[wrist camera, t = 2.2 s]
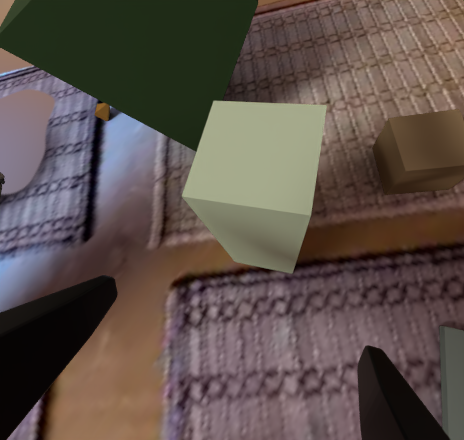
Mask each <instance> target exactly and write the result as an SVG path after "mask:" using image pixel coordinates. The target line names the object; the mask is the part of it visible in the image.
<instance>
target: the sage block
mask: <svg viewBox="0 0 464 440" xmlns="http://www.w3.org/2000/svg"><path fill="white" fill-rule="evenodd" d="M326 108H327V105H307V104H283V103H258V102H234V101H213V104H212V107H211V110H210V113H209V116H208V119H207V122H206V125H205V128H204V131H203V134H202V137H201V140H200V143H199V146H198V149H197V152H196V155H195V158H194V161H193V164H192V167H191V170H190V173H189V176H188V179H187V182H186V185H185V188H184V191H183V194H182V197H183V199H184V200H185V201H186V202H187V204H188V205H189V206H190V207H191V208H192V210H193V211H194V212H195V213H196V215H197V216H198V217H199V218H200V219H201V221H202V222H203V223H204V224H205V226H206V227H207V228H208V229H209V230H210V232H211V233H212V234H213V235H214V237H215V238H216V239H217V240H218V241H219V243H220V244H221V245H222V246H223V248H224V249H225V250H226V251H227V252H228V254H229V255H230V256H231V257H232V259H233V260H234V261H235V262H238V263H243V264H248V265H253V266H257V267H262V268H267V269H272V270H277V271H281V272H286V273H291V274H293V271H294V267H295V264H296V261H297V258H298V255H299V252H300V248H301V245H302V242H303V239H304V236H305V233H306V230H307V226H308V223H309V220H310V217H311V212H312V205H313V198H314V191H315V184H316V177H317V170H318V163H319V156H320V149H321V142H322V135H323V128H324V121H325V114H326Z"/></svg>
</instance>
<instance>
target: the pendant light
mask: <svg viewBox="0 0 464 440" xmlns="http://www.w3.org/2000/svg"><path fill="white" fill-rule="evenodd" d="M257 5H258V0H15V1H14V3H13V5H12V6H11V8H10V10H9V12H8V14H7V16H6V17H5V19H4V21H3V23H2V25H1V26H0V48H2V49H4V50H6V51H8V52H10V53H12V54H14V55H15V56H17V57H19V58H21V59H23V60H25V61H27V62H29V63H31V64H32V65H34V66H36V67H38V68H40V69H42V70H44V71H45V72H47V73H49V74H51V75H53V76H55V77H57V78H59V79H61V80H62V81H64V82H66V83H68V84H70V85H72V86H74V87H76V88H77V89H79V90H81V91H83V92H85V93H87V94H89V95H91V96H93V97H94V98H96V99H98V100H100V101H102V102H104V103H102V104H97V107H96V111H95V116H97V117H99V118H101V119H103V120H105V121H108V119H109V115H110V106H111V107H113V108H115V109H117V110H119V111H121V112H123V113H125V114H126V115H128V116H130V117H132V118H134V119H136V120H138V121H140V122H141V123H143V124H145V125H147V126H149V127H151V128H153V129H155V130H157V131H158V132H160V133H162V134H164V135H166V136H168V137H170V138H172V139H173V140H175V141H177V142H179V143H181V144H183V145H185V146H187V147H189V148H190V149H192V150H194V151H196V152H197V149H198V146H199V143H200V140H201V137H202V134H203V131H204V128H205V125H206V122H207V119H208V116H209V113H210V110H211V107H212V104H213V101H222V100H223V98H224V95H225V92H226V89H227V87H228V84H229V81H230V79H231V76H232V73H233V70H234V68H235V65H236V62H237V60H238V57H239V54H240V51H241V49H242V46H243V43H244V41H245V38H246V35H247V32H248V30H249V27H250V24H251V21H252V19H253V16H254V13H255V11H256V8H257Z"/></svg>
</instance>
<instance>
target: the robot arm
mask: <svg viewBox="0 0 464 440" xmlns="http://www.w3.org/2000/svg"><path fill="white" fill-rule="evenodd" d="M116 298H117V288H116V283H115V279H114V278H113V277H110V276H106V275H102V276H99V277H97V278H94V279H91V280H88V281H86V282H83V283H80V284H77V285H75V286H72V287H69V288H67V289H64V290H61V291H58V292H56V293H53V294H50V295H47V296H45V297H42V298H39V299H37V300H34V301H31V302H28V303H26V304H23V305H20V306H17V307H15V308H12V309H9V310H7V311H4V312H1V313H0V440H7V439H8V437H9V436H10V435H11V434H12V432H13V431H14V430H15V429H16V428H17V426H18V425H19V424H20V423H21V421H22V420H23V419H24V418H25V416H26V415H27V414H28V413H29V412H30V410H31V409H32V408H33V407H34V405H35V404H36V403H37V402H38V400H39V399H40V398H41V397H42V396H43V394H44V393H45V392H46V391H47V389H48V388H49V387H50V386H51V384H52V383H53V382H54V381H55V380H56V378H57V377H58V376H59V375H60V373H61V372H62V371H63V370H64V369H65V367H66V366H67V365H68V364H69V362H70V361H71V360H72V359H73V357H74V356H75V355H76V354H77V353H78V351H79V350H80V349H81V348H82V346H83V345H84V344H85V343H86V341H87V340H88V339H89V338H90V336H91V335H92V334H93V332H94V331H95V329H96V328H97V327H98V325H99V324H100V322H101V321H102V319H103V318H104V316H105V315H106V313H107V312H108V310H109V309H110V307H111V306H112V304H113V303H114V302H115V300H116ZM358 391H359V411H360V428H361V435H362V440H451V439H450V438H449V437H448V435H447V434H446V433H445V431H444V430H443V429H442V427H441V426H440V425H439V424H438V422H437V421H436V420H435V418H434V417H433V416H432V414H431V413H430V412H429V410H428V409H427V408H426V406H425V405H424V404H423V402H422V401H421V400H420V399H419V397H418V396H417V395H416V393H415V392H414V391H413V389H412V388H411V387H410V385H409V384H408V383H407V381H406V380H405V379H404V378H403V376H402V375H401V374H400V372H399V371H398V370H397V368H396V367H395V366H394V364H393V363H392V362H391V360H390V359H389V358H388V357H387V355H386V354H385V353H384V351H383V350H381V349H380V348H376V347H372V346H365V348H364V350H363V353H362V355H361V357H360V360H359V363H358Z"/></svg>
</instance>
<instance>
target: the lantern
mask: <svg viewBox="0 0 464 440" xmlns="http://www.w3.org/2000/svg"><path fill="white" fill-rule="evenodd" d="M1 183H2V184H4V183H5V181H4V175H3V174H1V173H0V197H1V190H2V184H1Z"/></svg>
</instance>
